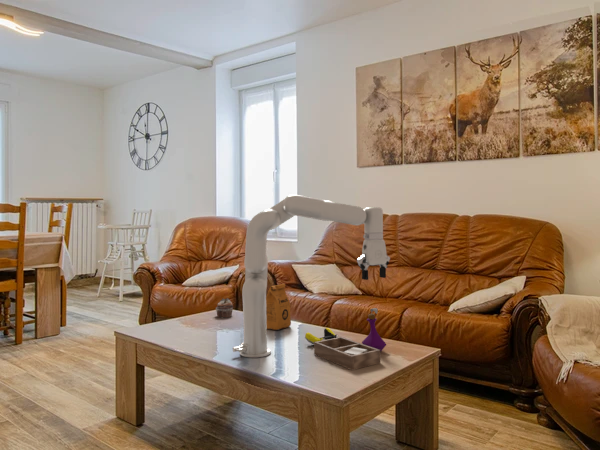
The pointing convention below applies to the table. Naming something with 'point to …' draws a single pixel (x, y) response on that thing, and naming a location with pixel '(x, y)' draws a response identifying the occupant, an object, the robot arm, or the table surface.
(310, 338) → the gaming controller
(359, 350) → the upper offcut
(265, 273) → the robot arm
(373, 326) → the perfume bottle
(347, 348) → the divided wooden tray
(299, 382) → the table surface
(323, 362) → the table surface
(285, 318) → the coffee package
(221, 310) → the cupcake
